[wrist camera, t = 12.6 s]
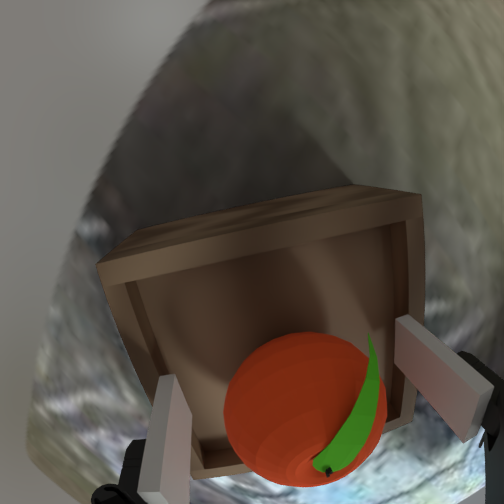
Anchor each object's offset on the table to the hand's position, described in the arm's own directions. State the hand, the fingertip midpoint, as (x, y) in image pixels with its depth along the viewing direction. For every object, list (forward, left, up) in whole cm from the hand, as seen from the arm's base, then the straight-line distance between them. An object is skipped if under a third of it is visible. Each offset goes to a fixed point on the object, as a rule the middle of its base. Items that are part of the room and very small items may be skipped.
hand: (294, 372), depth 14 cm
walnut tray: (0, 0, -7) cm, 7 cm away
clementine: (0, 0, -2) cm, 2 cm away
